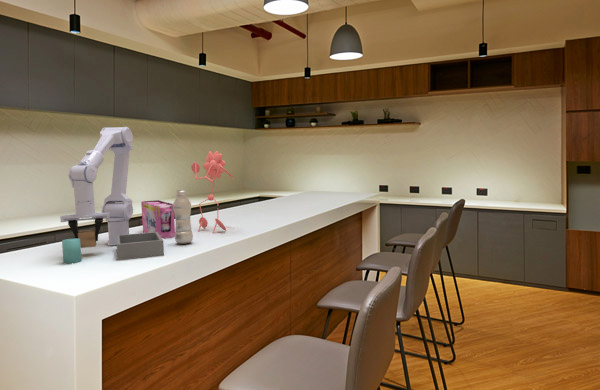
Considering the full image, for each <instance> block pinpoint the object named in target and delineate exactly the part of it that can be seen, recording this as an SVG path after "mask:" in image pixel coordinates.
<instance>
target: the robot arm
mask: <svg viewBox="0 0 600 390" xmlns="http://www.w3.org/2000/svg"><path fill="white" fill-rule="evenodd" d="M133 140H134V134H133V132H132V130H131V129H130V128H129V127H128V126H122V127H120V126H119V127H115V126H114V127H107V126H106V127H105V126H104V127H103V128H102V129H101V130H100V132H99V140H98V141H97V143H96V145H95V147H94V148H93V149H90V150H86V152H85V155H84V156H83V157H82V159H81V160H80V161H79V163H78V164H77V165H73V166H71V168H69V169H70V170H69V172H68V174H67V175H68V179H69V180H70V182H71V187H72V188H73V191H74V192H73V193H74V195H73V196H74V207H75V214H67V215H66V214H65V215H60V216H59V217H60V218H59V219H60V223H65V222H67V225H68V227H69V228H70V229H71V232H72V233H73V235H74V238H78V231H79V225H78V224H79V223H78V222H79V221H93V220H94V229H95V240H96V242H98V241H99V234H100V231H101V227H102V224H103V222H104V220H105V221H106V222H107V228H108V229H107V231H108V233H107V234H108V240H107V246H111V247H112V246H117V240H116V235H126V234H130V227H129V221H130V220H131V218H132V216H133V214H134V207H133V200H132V199H131V198H130V197H129V196H128V195H127V187H128V176H129V175H128V174H129V164H130V153H131V151H132V150H133V142H134V141H133ZM108 150H109V151H111V152H113V154H114V157H113V158H114V161H113V167H112V168H113V170H112V179H111V188H110V189H111V190H110V194H109V195H108V196H107V197H105V198H104V201H103V205H102V206H101V212H95V210H96V209H95V195H94V193H95V192H94V191H95V190H94V182H95V181H96V180H97V174H98V169H99V168H100V167H101V165H102V164H103V163H104V155H105V154H106V152H107V151H108Z"/></svg>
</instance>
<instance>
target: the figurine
mask: <svg viewBox="0 0 600 390" xmlns="http://www.w3.org/2000/svg"><path fill="white" fill-rule="evenodd" d="M202 166H203V169H204V170H206V172H205V173H206V175H205V176H201V177H198V173H199V172H200V169H201V168H200V164H199V163H198V162H196V161H194V162H193V163H192V164H191V168H190V169H191V170H192V172H193V174H194V175H195V180H200V179H202V180H203V179H205V180H208V181H209V182H211V183H212V188H211V189H212V190H211V192H210V193H211V194H208V195H207V198H206V199H205V200H203V201H201V202H199V203H198V205H199V209H200V214H201V216H200V218H199V220H198V224H199V227H198V230H197V232H200V231H201V230H200V229H201V227H202V229H204V230H205V229H206V228H208V225H209V223H208V219H206V217H204V215H203V212H202V211H203V210H202V207H201V204H202V203H203V204H204V203H205V202H206V201H214V202H215V203H216V204H217V205H219V203H218V202H217V200H216V199H215V195H214V194H213V192H214V188H215V182H214V181H215V180H216V178H217V179H219V180H220V178H221V175H222V174H223V173H226V174H227V175H228V176H229V177H230V178H232V179H233V180H234V179H235V178H234V176H233V175H232V174H231V173H230V172H229V171H228V170H227V169H226V168H224V167H225V166H226V161H225V160H223V153H219V151H218V150H216V151H215V152H214V153H212V151H210V150H209V151H208V154H207V156H206V157H205V162H204V164H203V165H202ZM208 176H209V177H208ZM216 212H217V218H215V219H214V221H215V224H214V226H213V231H212V234H214V233H215V231H216V228H217V225H218V227H219V228H221V229H222V230H224V231H225V232H226V231H227V228H229V229H231V227H230V226H227V227H226V226H225V225H224V223H223V222H222V221H221V220H220V219H219V209H217V211H216ZM232 229H233V230H234V229H235V228H234V227H232ZM225 232H223V233H222V235H223V234H226V233H225Z"/></svg>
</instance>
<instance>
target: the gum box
mask: <svg viewBox="0 0 600 390" xmlns="http://www.w3.org/2000/svg"><path fill="white" fill-rule="evenodd" d="M140 203H141V206H140V207H141V221H142V233H149V232H158V233H159V235H160V236H161V238H162V239H169V238H175V227H176V221H175V213H174V208H173V203H171V202H166V201H162V200H155V199H154V200H143V201H141V202H140Z"/></svg>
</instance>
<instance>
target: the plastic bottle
mask: <svg viewBox="0 0 600 390" xmlns="http://www.w3.org/2000/svg"><path fill="white" fill-rule="evenodd" d="M176 196H177V197H176V198H175V199H174V200H173V203H172V204H173V208H174V222H175V237H174V241H175V243H176V244H180V245H185V244H190V243H192V242H193V240H194V234H193V231H192V223H191V213H192V212H191V211H192V203H191V201H190V199H189V198H188V191H187V189H185V190H184V189H182V190H176Z"/></svg>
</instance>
